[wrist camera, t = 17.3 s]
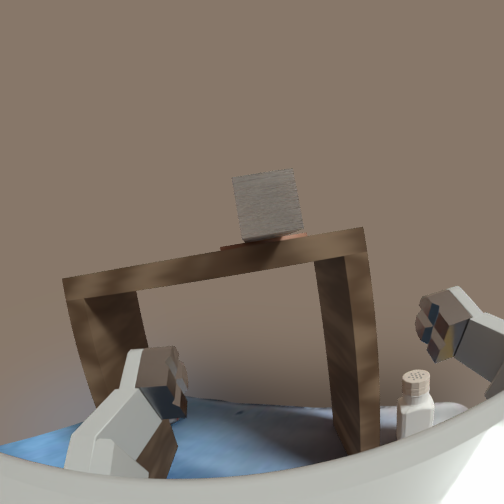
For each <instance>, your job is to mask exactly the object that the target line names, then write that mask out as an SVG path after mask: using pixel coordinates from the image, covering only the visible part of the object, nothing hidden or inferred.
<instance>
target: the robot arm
mask: <svg viewBox="0 0 504 504" xmlns="http://www.w3.org/2000/svg"><path fill="white" fill-rule="evenodd" d="M419 306H420V308H421V309H422V310H421V311H420V312H419V313H418V315H417V317H416V322H415V325H416V332H417V334H418V337H419V338H420V340H421V341H423V342H425V343H426V344H428V345H427V351H428V353H429V354H430V356H431V357H432V359H433V361H434V362H435V363H438V362H441V361H443V360H446V359H449V358H452V357H454V356H455V357H454V358H456V359H457V360H458V361H460V362H462V363H463V364H465V365H466V366H467V367H469V368H470V369H472V370H473V371H475V372H476V373H478V374H479V375H481V376H482V377H484V378H485V379H487V380H488V381H490V382H491V384H490V385H489V387H488V389H487V390H486V392H485V397H486V399H487V400H486V401H484V402H482V403H480V404H478V405H476V406H474V407H473V408H471V409H469V410H467V411H465V412H463V413H461V414H459V415H457V416H454V417H452V418H450V419H448V420H446V421H444V422H442V423H439V424H437V425H435V426H432V427H430V428H428V429H425V430H423V431H420V432H418V433H415V434H413V435H410V436H408V437H405V438H402V439H400V440H397V441H394V442H391V443H388V444H385V445H382V446H379V447H376V448H373V449H370V450H367V451H363V452H360V453H356V454H353V455H349V456H346V457H342V458H338V459H334V460H330V461H326V462H321V463H317V464H312V465H307V466H303V467H297V468H292V469H286V470H280V471H274V472H267V473H260V474H252V475H242V476H232V477H219V478H200V479H153V478H148V477H149V472H148V471H147V470H146V469H145V468H143V467H142V466H141V465H140V464H139V463H137V462H136V459H137V458H138V456H139V455H140V453H141V452H142V450H143V449H144V447H145V446H146V444H147V443H148V441H149V440H150V438H151V437H152V435H153V434H154V432H155V431H156V429H157V428H158V426H159V425H160V423H161V422H162V420H163V419H176V418H186V417H187V399H186V397H185V396H184V394H185V392H186V391H187V390H188V377H187V372H186V368H185V366H184V364H183V362H181V361H180V360H178V357H179V353H178V351H177V349H176V347H175V346H167V347H155V348H144V349H131V350H130V351H129V352H128V354H127V358H126V362H125V366H124V370H123V374H122V378H121V382H120V387H119V389H115V390H114V391H113V392H112V393H111V394H110V395H109V396H108V397H107V398H106V399H105V400H104V401H103V402H102V403H101V404H100V405H99V407H98V408H97V409H96V410H95V411H94V412H93V413H92V414H91V415H90V416H89V417H88V418H87V419H86V420H85V421H84V422H83V423H82V424H81V425H80V426H79V427H78V428H77V430H76V431H75V432H74V433H73V434H72V435H71V439H70V443H69V447H68V451H67V456H66V460H65V465H64V468H59V467H54V466H49V465H45V464H40V463H36V462H32V461H28V460H24V459H21V458H17V457H14V456H10V455H7V454H4V453H1V452H0V504H504V320H502V319H500V318H498V317H496V316H493V315H491V314H489V313H483V312H482V311H481V310H480V309H479V308H478V307H477V305H476V304H475V303H474V302H473V301H472V300H471V299H470V297H469V296H468V295H467V294H466V293H465V292H464V291H463V290H462V289H461V288H460V287H458V286H455V287H452V288H449V289H446V290H442V291H439V292H436V293H433V294H430V295H426V296H423V297H422V298H421V300H420V304H419Z"/></svg>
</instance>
